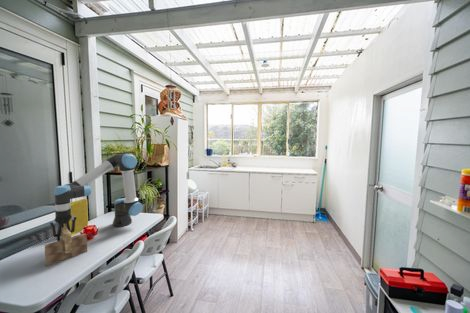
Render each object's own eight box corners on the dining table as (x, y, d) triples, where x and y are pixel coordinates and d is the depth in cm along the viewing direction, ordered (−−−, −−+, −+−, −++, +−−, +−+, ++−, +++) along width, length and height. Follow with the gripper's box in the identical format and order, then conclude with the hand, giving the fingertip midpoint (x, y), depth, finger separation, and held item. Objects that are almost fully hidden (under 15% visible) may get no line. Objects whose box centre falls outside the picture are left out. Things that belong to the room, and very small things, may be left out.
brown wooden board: (85, 250, 133) (85, 233, 133) (87, 251, 132) (86, 234, 131) (45, 264, 118) (44, 244, 117) (46, 266, 116) (45, 246, 115)
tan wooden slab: (66, 244, 131) (65, 227, 130) (71, 251, 123) (71, 232, 122) (60, 246, 128) (59, 228, 128) (65, 253, 120) (65, 234, 119)
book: (70, 236, 152) (69, 205, 151) (63, 235, 154) (62, 204, 152) (90, 227, 169) (89, 199, 167) (84, 226, 170) (83, 198, 169)
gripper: (76, 205, 135) (78, 238, 136) (44, 211, 122) (46, 247, 124) (80, 207, 130) (81, 241, 132) (47, 214, 118) (48, 251, 119)
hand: (64, 244), depth 128 cm, fingers closed on tan wooden slab, 3 cm apart
